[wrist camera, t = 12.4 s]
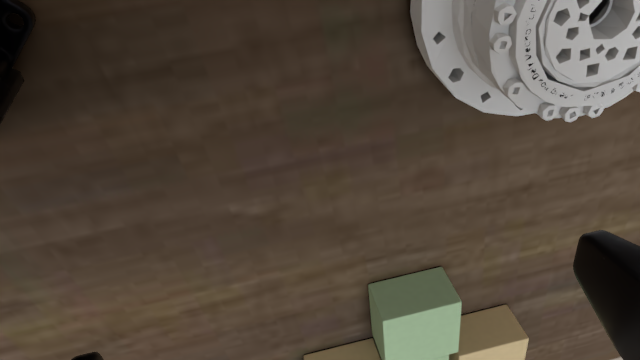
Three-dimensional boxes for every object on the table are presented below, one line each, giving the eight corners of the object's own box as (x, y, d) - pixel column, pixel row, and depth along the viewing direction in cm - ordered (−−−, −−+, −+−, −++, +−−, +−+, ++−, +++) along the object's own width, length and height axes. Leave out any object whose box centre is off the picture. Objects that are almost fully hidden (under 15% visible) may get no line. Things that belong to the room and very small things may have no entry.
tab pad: (367, 283, 27) (382, 321, 25) (441, 266, 28) (462, 301, 26) (374, 361, 31) (387, 399, 29) (439, 344, 32) (456, 381, 30)
